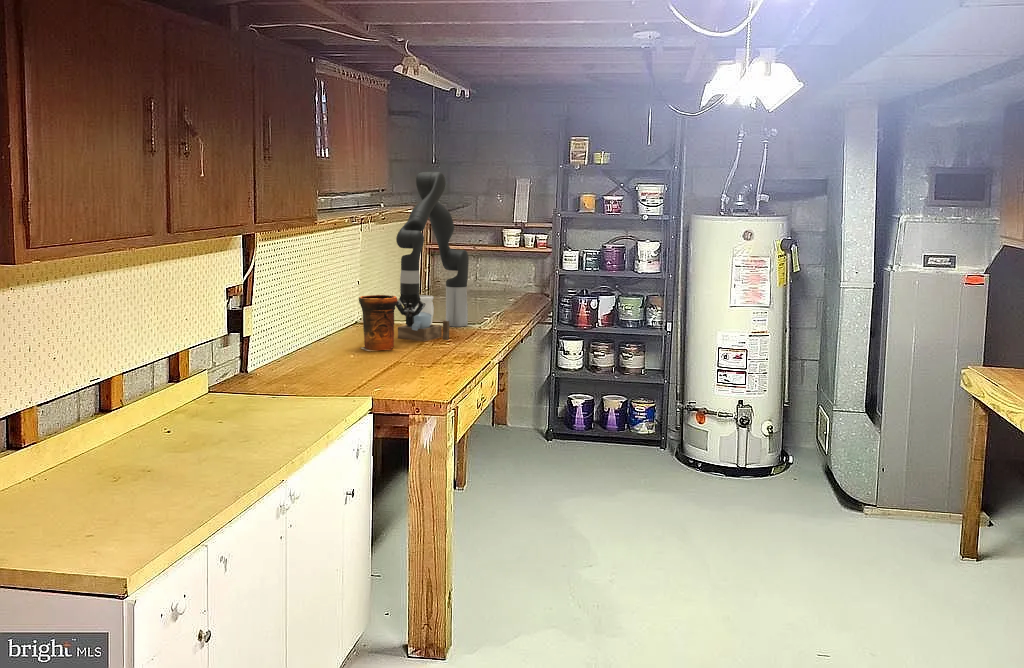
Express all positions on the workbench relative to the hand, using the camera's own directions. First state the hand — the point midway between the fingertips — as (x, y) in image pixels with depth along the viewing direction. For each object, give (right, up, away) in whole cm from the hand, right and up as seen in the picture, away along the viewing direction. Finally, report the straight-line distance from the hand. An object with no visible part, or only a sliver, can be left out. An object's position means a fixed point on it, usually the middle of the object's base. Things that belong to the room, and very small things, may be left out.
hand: (409, 326), depth 387 cm
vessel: (-10, -9, -13) cm, 19 cm away
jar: (+2, -2, +29) cm, 29 cm away
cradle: (+5, -5, +8) cm, 11 cm away
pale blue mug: (+2, -5, +5) cm, 7 cm away
